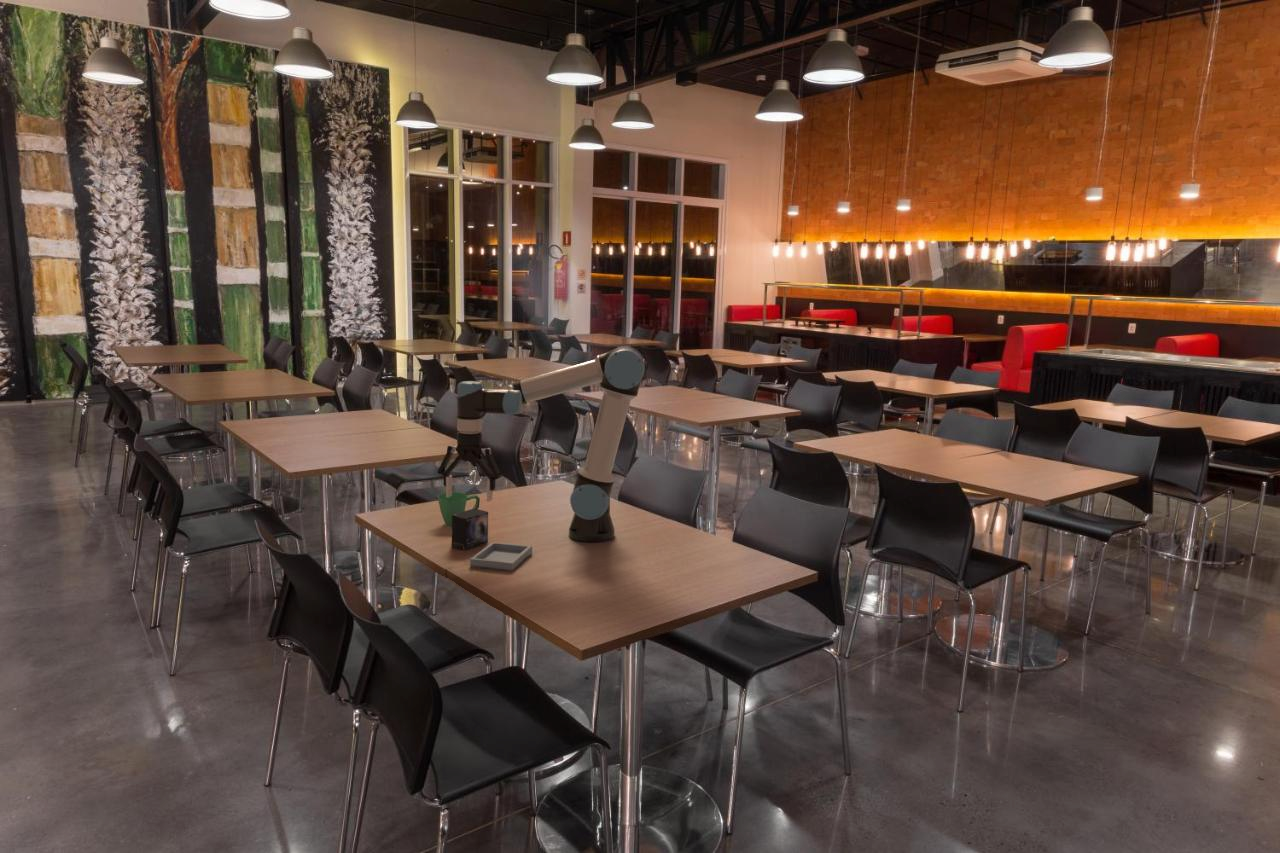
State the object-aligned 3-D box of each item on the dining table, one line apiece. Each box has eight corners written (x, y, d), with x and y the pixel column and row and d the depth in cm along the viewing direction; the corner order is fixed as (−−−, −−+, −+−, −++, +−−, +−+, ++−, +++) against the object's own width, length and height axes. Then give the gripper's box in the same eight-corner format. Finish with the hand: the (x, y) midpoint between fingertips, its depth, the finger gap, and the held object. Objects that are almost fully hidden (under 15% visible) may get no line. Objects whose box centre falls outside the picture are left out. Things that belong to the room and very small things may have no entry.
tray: (532, 553, 260) (532, 545, 259) (512, 571, 243) (512, 563, 243) (492, 549, 262) (492, 541, 262) (470, 567, 246) (470, 558, 245)
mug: (444, 529, 281) (444, 500, 280) (433, 522, 289) (433, 494, 287) (485, 523, 289) (485, 495, 288) (473, 517, 297) (473, 489, 296)
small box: (466, 551, 260) (465, 518, 259) (450, 547, 264) (450, 514, 262) (489, 542, 269) (489, 511, 267) (474, 539, 273) (473, 507, 271)
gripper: (512, 432, 261) (511, 498, 265) (437, 426, 266) (437, 491, 270) (503, 436, 254) (502, 504, 258) (426, 430, 259) (426, 497, 263)
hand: (469, 498), depth 264 cm, fingers open, 13 cm apart
